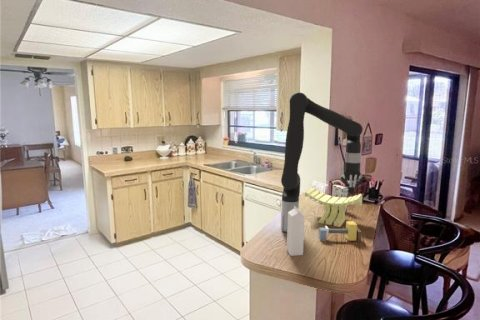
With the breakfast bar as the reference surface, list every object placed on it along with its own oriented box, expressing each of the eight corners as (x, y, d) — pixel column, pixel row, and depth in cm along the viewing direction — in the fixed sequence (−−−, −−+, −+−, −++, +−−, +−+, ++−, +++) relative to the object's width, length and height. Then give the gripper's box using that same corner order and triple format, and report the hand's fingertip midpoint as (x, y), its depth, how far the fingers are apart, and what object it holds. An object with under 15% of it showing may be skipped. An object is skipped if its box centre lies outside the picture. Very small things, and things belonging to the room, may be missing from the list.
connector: (320, 240, 154) (320, 230, 153) (318, 237, 158) (319, 227, 157) (326, 240, 154) (326, 230, 153) (324, 237, 158) (324, 227, 157)
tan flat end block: (357, 242, 153) (358, 231, 152) (353, 237, 159) (354, 227, 158) (360, 242, 153) (361, 231, 152) (356, 237, 158) (357, 227, 158)
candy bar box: (347, 212, 199) (348, 188, 197) (340, 212, 198) (342, 188, 195) (337, 207, 210) (338, 184, 207) (330, 207, 208) (332, 184, 206)
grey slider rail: (321, 233, 155) (321, 229, 155) (320, 231, 157) (320, 228, 156) (360, 233, 154) (360, 230, 154) (359, 232, 156) (359, 229, 156)
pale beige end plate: (326, 236, 154) (326, 228, 153) (324, 233, 158) (324, 225, 157) (328, 236, 154) (328, 228, 153) (326, 233, 158) (326, 225, 157)
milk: (298, 249, 144) (300, 205, 141) (303, 255, 138) (305, 209, 135) (286, 250, 143) (287, 205, 140) (290, 256, 138) (292, 209, 134)
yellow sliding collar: (348, 240, 153) (349, 224, 152) (345, 236, 158) (346, 221, 157) (356, 240, 153) (357, 224, 152) (352, 236, 158) (353, 221, 157)
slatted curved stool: (360, 221, 182) (362, 192, 180) (355, 229, 169) (357, 199, 166) (312, 212, 198) (313, 186, 195) (304, 219, 185) (305, 191, 182)
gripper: (341, 162, 152) (340, 195, 154) (368, 162, 151) (366, 195, 154) (337, 160, 159) (336, 192, 162) (363, 160, 159) (361, 192, 161)
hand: (351, 193), depth 158 cm, fingers closed
